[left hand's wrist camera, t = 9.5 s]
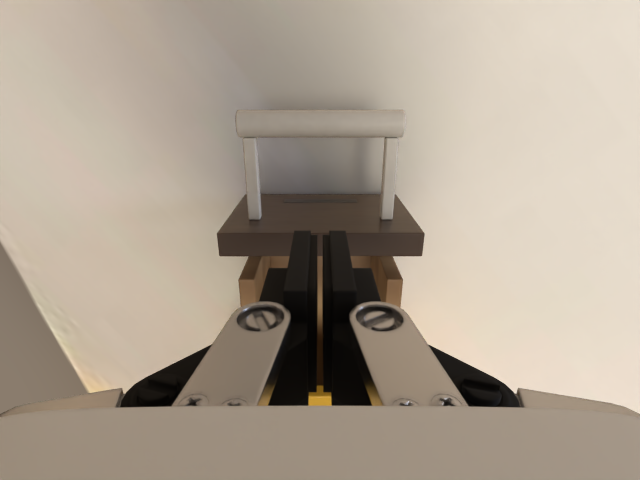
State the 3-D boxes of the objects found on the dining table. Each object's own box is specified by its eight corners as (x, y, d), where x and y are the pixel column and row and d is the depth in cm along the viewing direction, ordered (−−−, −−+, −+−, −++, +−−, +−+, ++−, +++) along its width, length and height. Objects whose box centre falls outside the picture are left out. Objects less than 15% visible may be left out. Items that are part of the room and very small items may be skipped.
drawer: (238, 106, 22) (202, 112, 15) (402, 106, 22) (438, 112, 15) (260, 398, 30) (244, 483, 24) (380, 398, 30) (396, 483, 24)
